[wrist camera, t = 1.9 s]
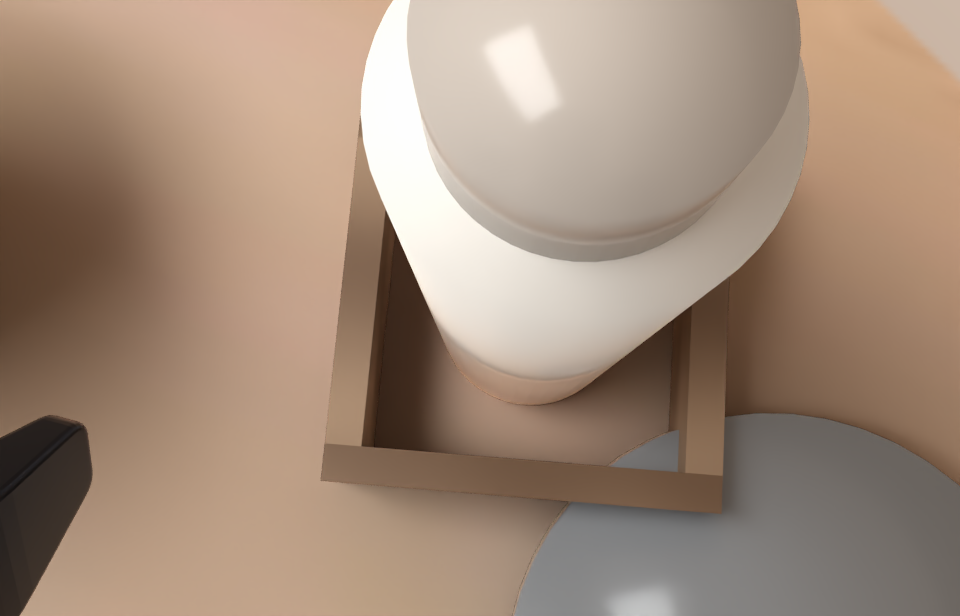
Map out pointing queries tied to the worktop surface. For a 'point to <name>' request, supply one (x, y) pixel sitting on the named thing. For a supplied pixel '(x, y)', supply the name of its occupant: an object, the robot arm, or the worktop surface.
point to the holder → (361, 463)
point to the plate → (764, 534)
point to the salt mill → (579, 168)
